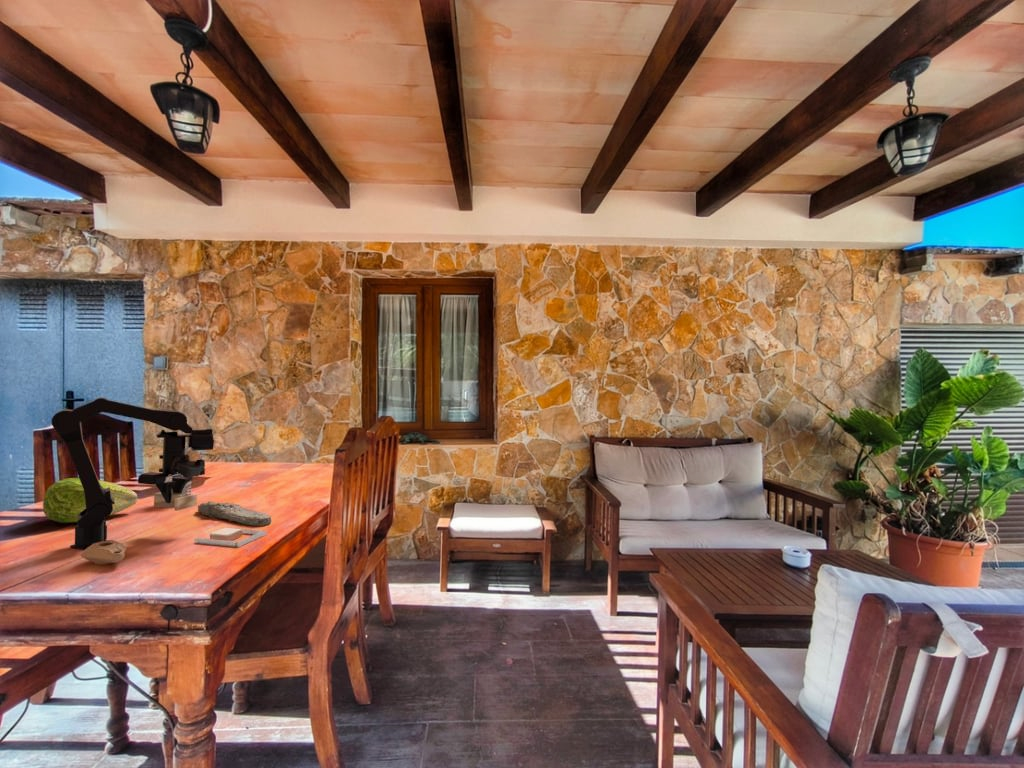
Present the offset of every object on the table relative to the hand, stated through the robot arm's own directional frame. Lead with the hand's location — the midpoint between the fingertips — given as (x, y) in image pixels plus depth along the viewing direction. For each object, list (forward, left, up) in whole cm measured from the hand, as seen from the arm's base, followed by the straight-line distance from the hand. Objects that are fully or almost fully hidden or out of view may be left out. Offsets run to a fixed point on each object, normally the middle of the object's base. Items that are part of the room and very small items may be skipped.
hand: (172, 502), depth 155 cm
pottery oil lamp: (-25, -5, -10) cm, 27 cm away
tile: (0, -19, -10) cm, 21 cm away
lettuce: (+6, +37, -10) cm, 39 cm away
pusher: (0, 0, -1) cm, 1 cm away
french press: (+30, +27, -10) cm, 42 cm away
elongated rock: (+20, -5, -10) cm, 23 cm away
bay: (0, -21, -10) cm, 23 cm away
